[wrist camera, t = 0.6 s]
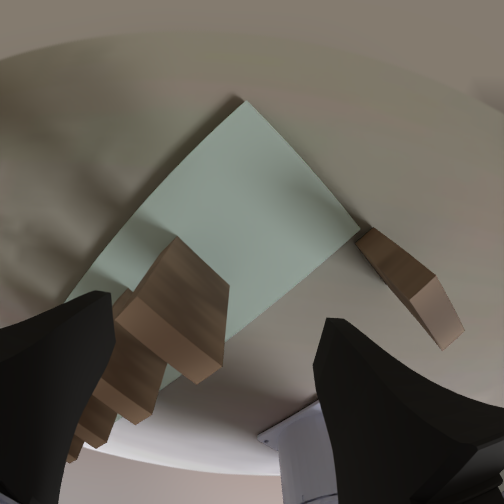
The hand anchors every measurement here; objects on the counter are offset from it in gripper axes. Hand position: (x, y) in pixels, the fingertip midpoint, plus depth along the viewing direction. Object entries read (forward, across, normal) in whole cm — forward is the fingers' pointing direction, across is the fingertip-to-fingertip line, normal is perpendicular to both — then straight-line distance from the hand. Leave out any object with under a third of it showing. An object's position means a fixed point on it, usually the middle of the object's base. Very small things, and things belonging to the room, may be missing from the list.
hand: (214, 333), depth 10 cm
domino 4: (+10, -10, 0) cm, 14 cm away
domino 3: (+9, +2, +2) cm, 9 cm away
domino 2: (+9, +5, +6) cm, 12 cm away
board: (+10, +5, +6) cm, 12 cm away
